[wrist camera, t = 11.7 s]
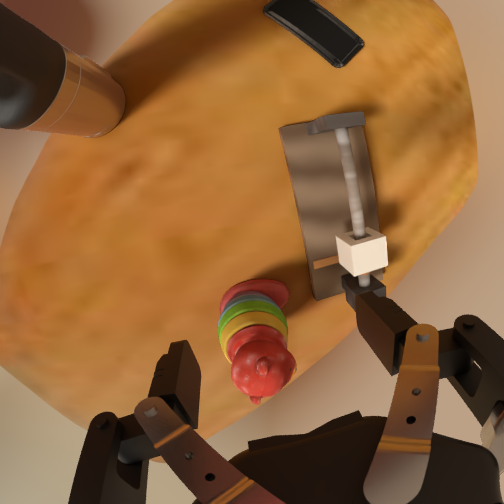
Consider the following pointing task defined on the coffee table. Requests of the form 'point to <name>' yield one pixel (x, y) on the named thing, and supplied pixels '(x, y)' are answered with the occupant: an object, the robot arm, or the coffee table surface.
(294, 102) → the coffee table surface
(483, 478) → the robot arm
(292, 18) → the phone
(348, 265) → the sleeve
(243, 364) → the stacking bear
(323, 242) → the grey slider rail toy
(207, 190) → the coffee table surface
